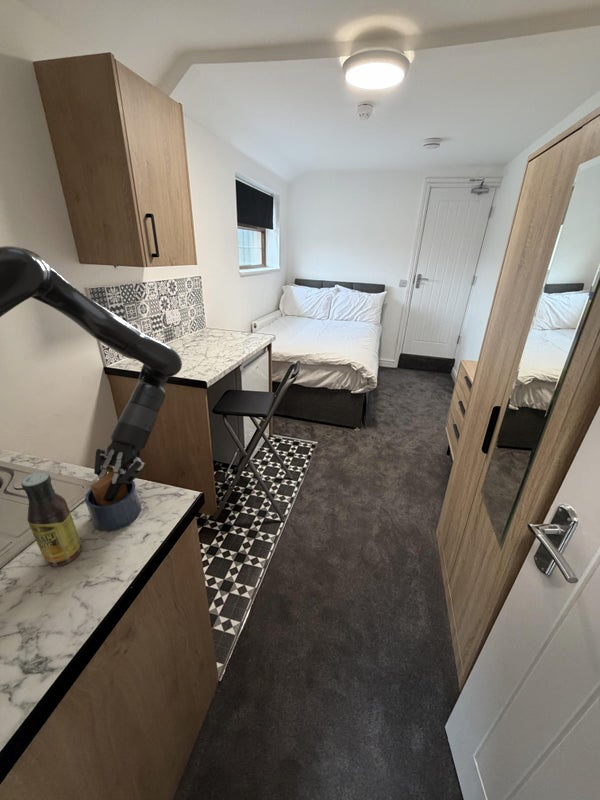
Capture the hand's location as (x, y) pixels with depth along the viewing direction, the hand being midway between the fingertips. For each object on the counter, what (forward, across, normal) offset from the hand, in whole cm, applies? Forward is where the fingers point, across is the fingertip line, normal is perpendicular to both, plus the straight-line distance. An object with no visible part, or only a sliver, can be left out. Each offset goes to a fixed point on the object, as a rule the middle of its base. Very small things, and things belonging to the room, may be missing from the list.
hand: (102, 498), depth 72 cm
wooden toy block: (+1, 0, +4) cm, 5 cm away
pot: (+3, 0, +6) cm, 7 cm away
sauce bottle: (+12, 0, -2) cm, 12 cm away
